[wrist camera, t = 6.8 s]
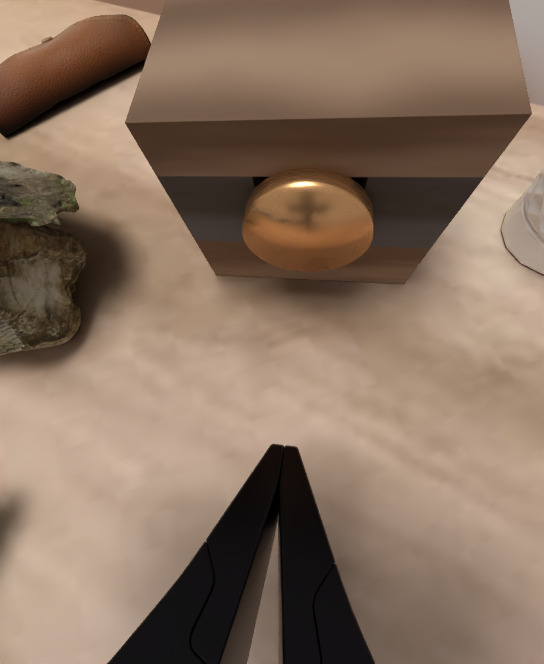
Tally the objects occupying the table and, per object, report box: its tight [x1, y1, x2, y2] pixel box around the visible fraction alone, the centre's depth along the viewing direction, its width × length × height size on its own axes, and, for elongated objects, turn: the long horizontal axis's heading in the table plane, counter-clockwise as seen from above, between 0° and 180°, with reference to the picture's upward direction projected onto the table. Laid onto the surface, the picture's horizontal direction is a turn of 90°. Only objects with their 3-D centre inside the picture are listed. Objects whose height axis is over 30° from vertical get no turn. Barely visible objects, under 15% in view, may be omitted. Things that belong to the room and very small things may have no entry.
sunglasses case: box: [0, 15, 151, 137], centre depth 30 cm, size 18×7×7 cm
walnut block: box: [125, 0, 532, 284], centre depth 17 cm, size 12×14×12 cm
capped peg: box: [242, 168, 373, 272], centre depth 16 cm, size 12×6×6 cm, turn 174°
